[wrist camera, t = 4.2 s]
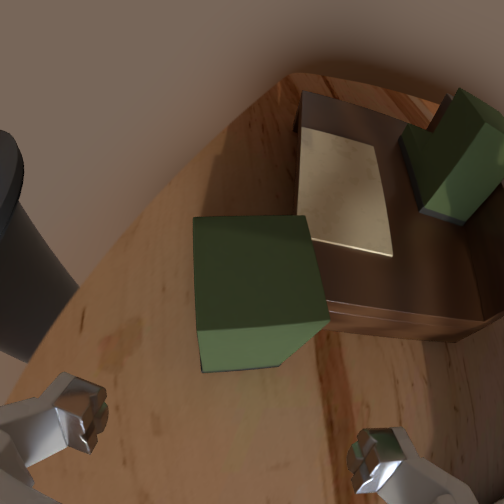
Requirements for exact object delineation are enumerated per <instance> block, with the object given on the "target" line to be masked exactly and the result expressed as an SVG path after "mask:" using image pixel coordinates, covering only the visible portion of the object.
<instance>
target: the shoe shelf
mask: <svg viewBox="0 0 504 504" xmlns="http://www.w3.org/2000/svg"><path fill="white" fill-rule="evenodd" d="M453 98H454V97H453V96H451V95H450V94H448V93H447V94H446V96H445V97H444V99H443V101H442V103H441V105H440V106H439V108H438V110H437V112H436V114H435V115H434V117H433V119H432V121H431V122H430V124H429V126H428V128H427V129H426V130H427V131H429V132H431V133H433V132H434V131H435V129H436V127H437V126H438V124H439V122H440V121H441V119H442V117H443V115H444V114H445V112H446V110H447V108H448V107H449V105H450V103H451V101H452V100H453ZM407 124H408V123H406V122H404V121H401V120H399V119H396V118H393V117H390V116H388V115H385V114H382V113H379V112H376V111H373V110H370V109H367V108H364V107H361V106H358V105H355V104H352V103H348V102H345V101H341V100H338V99H334V98H331V97H327V96H323V95H319V94H316V93H312V92H307V91H303V90H302V94H301V97H300V102H299V105H298V108H297V112H296V116H295V119H294V123H293V131H294V132H298V141H297V158H296V173H295V188H294V201H293V214H292V215H305V216H306V220H307V223H308V227H309V231H310V235H311V239H312V243H313V247H314V251H315V255H316V259H317V263H318V267H319V271H320V275H321V279H322V284H323V288H324V292H325V297H326V301H327V306H328V310H329V315H330V319H331V320H330V322H329V323H328V324H326V325H325V326H324V327H323V328H322V329H324V330H331V331H339V332H346V333H354V334H363V335H372V336H381V337H391V338H401V339H412V340H424V341H437V342H452V343H455V342H457V341H459V340H461V339H463V338H465V337H467V336H469V335H471V334H473V333H475V332H477V331H479V330H480V329H483V328H484V327H486V326H488V325H490V324H492V323H493V322H495V321H497V320H498V319H500V318H502V317H504V179H503V180H502V181H501V182H500V184H499V185H498V186H497V187H496V188H495V190H494V191H493V192H492V193H491V194H490V195H489V196H488V198H487V199H486V200H485V201H484V202H483V203H482V204H481V205H480V207H479V208H478V209H477V210H476V211H475V212H474V213H473V214H472V215H471V216H470V217H469V218H468V220H467V221H466V223H465V224H464V225H463V226H459V225H456V224H453V223H450V222H447V221H444V220H441V219H438V218H435V217H432V216H428V215H425V214H422V213H419V211H418V207H417V203H416V199H415V196H414V192H413V188H412V185H411V181H410V178H409V174H408V171H407V168H406V164H405V161H404V158H403V155H402V152H401V149H400V146H399V143H398V138H399V136H400V135H402V133H403V131H404V129H405V127H406V125H407Z"/></svg>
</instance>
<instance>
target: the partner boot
mask: <svg viewBox="0 0 504 504" xmlns="http://www.w3.org/2000/svg"><path fill="white" fill-rule="evenodd" d="M398 143H399V146H400V149H401V152H402V155H403V158H404V161H405V164H406V168H407V171H408V174H409V178H410V181H411V185H412V188H413V192H414V196H415V199H416V203H417V207H418V211H419V213H422V214H425V215H428V216H432V217H435V218H438V219H441V220H444V221H447V222H450V223H453V224H456V225H459V226H463V225H464V224H465V223H466V221H467V220H468V218H469V217H470V216H471V215H472V214H473V213H474V212H475V211H476V210H477V209H478V208H479V207H480V205H481V204H482V203H483V202H484V201H485V200H486V199H487V198H488V196H489V195H490V194H491V193H492V192H493V191H494V190H495V188H496V187H497V186H498V185H499V184H500V182H501V181H502V180H503V179H504V117H503V116H502V114H501V113H500V112H499V111H497V110H496V109H494V108H493V107H491V106H489V105H488V104H486V103H485V102H483V101H481V100H480V99H478V98H477V97H475V96H473V95H472V94H470V93H468V92H466V91H465V90H463V89H461V88H459V89H458V90H457V92H456V94H455V96H454V98H453V100H452V101H451V103H450V105H449V107H448V108H447V110H446V112H445V114H444V115H443V117H442V119H441V121H440V122H439V124H438V126H437V127H436V129H435V131H434V132H433V133H431V132H429V131H427V130H424V129H422V128H420V127H417V126H415V125H412V124H410V123H408V124H407V125H406V127H405V129H404V131H403V133H402V135H400V136H399V138H398Z"/></svg>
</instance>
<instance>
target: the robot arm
mask: <svg viewBox="0 0 504 504" xmlns="http://www.w3.org/2000/svg"><path fill="white" fill-rule="evenodd" d="M106 397H107V393H106V389H105V388H104V387H102V386H99V385H97V384H94V383H91V382H89V381H86V380H84V379H81V378H79V377H76V376H73V375H71V374H69V373H66V372H63V373H60V374H59V376H58V377H57V378H56V379H55V380H54V381H53V382H52V383H51V384H50V386H49V387H48V388H47V389H46V390H45V391H44V392H43V393H42V395H41V396H40V397H39V398H38V399H37V398H35V397H33V398H30V399H26V400H22V401H19V402H15V403H11V404H8V405H4V406H0V504H62V503H60V502H58V501H56V500H54V499H52V498H50V497H48V496H46V495H44V494H42V493H41V492H39V491H37V490H35V489H33V488H32V487H33V485H34V480H33V478H32V476H31V475H30V473H29V471H28V469H27V467H29V466H31V465H33V464H35V463H37V462H39V461H41V460H43V459H45V458H47V457H49V456H51V455H53V454H55V453H56V452H58V451H60V450H62V449H64V448H66V447H67V446H69V447H72V448H74V449H77V450H79V451H82V452H84V453H87V454H89V455H91V453H92V451H93V449H94V447H95V446H96V444H97V442H98V439H97V434H99V433H102V432H103V431H104V429H105V427H106V424H107V421H108V414H109V410H108V406H107V404H106V403H105V402H104V401H105V399H106ZM357 439H358V441H357V442H355V443H354V444H352V445H351V447H350V449H349V450H348V453H347V458H346V459H347V467H348V470H349V471H350V472H352V473H353V474H354V475H353V477H352V478H351V481H352V485H353V488H354V492H355V494H360V493H372V492H377V494H378V495H379V496H381V497H382V498H383V499H384V500H385V501H386V502H387V503H388V504H479V503H478V501H477V499H476V498H475V496H474V494H473V492H472V490H471V489H470V487H469V485H467V484H465V483H463V482H462V481H460V480H458V479H457V478H455V477H454V476H452V475H450V474H449V473H447V472H445V471H444V470H442V469H441V468H439V467H437V466H436V465H434V464H433V463H431V462H430V461H428V460H427V459H425V458H420V457H419V455H418V453H417V451H416V449H415V448H414V446H413V444H412V442H411V440H410V438H409V436H408V434H407V432H406V431H405V429H404V428H403V427H389V428H366V429H362V430H361V431H360V432H359V433H358V435H357ZM494 504H504V499H502V500H500V501H498V502H496V503H494Z"/></svg>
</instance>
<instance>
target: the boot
mask: <svg viewBox="0 0 504 504" xmlns="http://www.w3.org/2000/svg"><path fill="white" fill-rule="evenodd" d="M193 257H194V288H195V310H196V328H197V337H198V343H199V350H200V363H201V372H202V373H212V372H227V371H240V370H251V369H261V368H271V367H279V366H280V365H281V363H282V362H283V361H285V360H286V359H287V358H288V357H289V356H291V355H292V354H293V353H294V352H295V351H297V350H298V349H299V348H300V347H301V346H303V345H304V344H305V343H306V342H307V341H308V340H309V339H311V338H312V337H313V336H314V335H315V334H316V333H317V332H319V331H320V330H321V329H322V328H323V327H324V326H325V325H326V324H328V323H329V322H330V320H331V319H330V315H329V310H328V306H327V301H326V297H325V292H324V288H323V284H322V279H321V275H320V271H319V267H318V263H317V259H316V255H315V251H314V247H313V243H312V239H311V235H310V231H309V227H308V223H307V220H306V216H305V215H264V216H212V217H194V218H193Z"/></svg>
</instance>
